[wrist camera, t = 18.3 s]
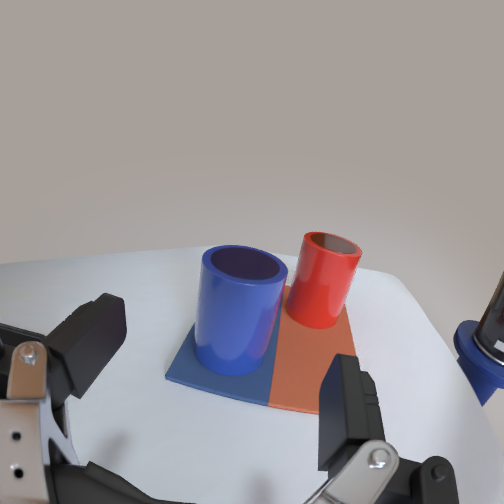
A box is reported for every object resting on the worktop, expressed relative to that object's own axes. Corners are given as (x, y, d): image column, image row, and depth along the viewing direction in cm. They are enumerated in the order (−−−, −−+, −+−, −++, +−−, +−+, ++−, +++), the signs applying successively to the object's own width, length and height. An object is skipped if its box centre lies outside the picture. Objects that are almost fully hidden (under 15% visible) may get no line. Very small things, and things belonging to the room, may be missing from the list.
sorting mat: (342, 300, 36) (343, 297, 36) (364, 418, 19) (366, 416, 18) (223, 273, 37) (223, 271, 37) (165, 378, 20) (165, 375, 20)
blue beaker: (268, 336, 26) (289, 255, 23) (259, 383, 21) (286, 293, 17) (205, 321, 27) (215, 238, 24) (183, 363, 21) (189, 270, 18)
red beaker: (334, 303, 34) (356, 239, 31) (340, 333, 29) (368, 261, 25) (286, 293, 35) (303, 227, 31) (283, 322, 29) (304, 246, 26)
